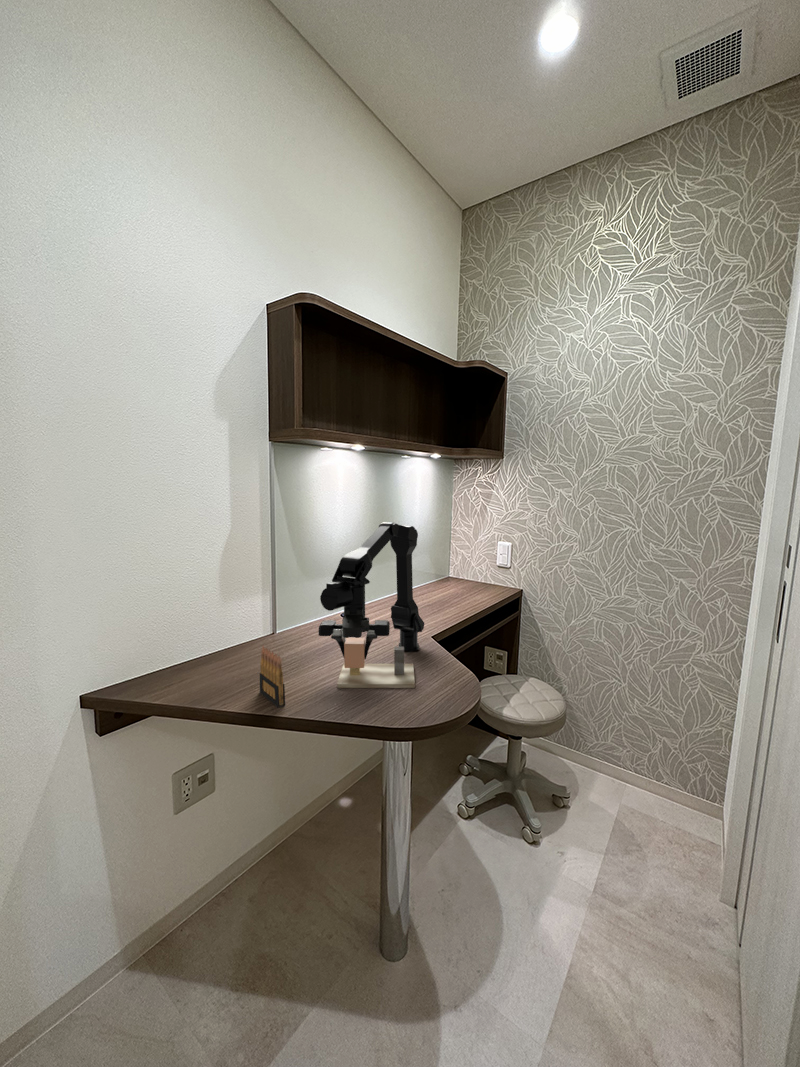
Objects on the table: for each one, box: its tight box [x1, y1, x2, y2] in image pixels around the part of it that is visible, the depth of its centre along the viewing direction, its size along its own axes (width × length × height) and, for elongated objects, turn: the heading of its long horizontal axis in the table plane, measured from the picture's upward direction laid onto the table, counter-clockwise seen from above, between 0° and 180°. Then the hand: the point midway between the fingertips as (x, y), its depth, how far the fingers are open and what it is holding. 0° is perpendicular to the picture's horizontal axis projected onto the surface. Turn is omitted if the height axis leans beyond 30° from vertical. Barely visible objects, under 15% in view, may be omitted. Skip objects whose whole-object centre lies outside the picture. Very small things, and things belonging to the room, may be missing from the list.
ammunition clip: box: [259, 645, 286, 708], centre depth 111 cm, size 11×2×12 cm, turn 40°
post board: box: [336, 646, 416, 689], centre depth 124 cm, size 14×20×8 cm
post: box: [350, 668, 360, 675], centre depth 124 cm, size 3×3×7 cm
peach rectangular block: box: [343, 637, 367, 668], centre depth 124 cm, size 5×5×7 cm
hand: (355, 658), depth 124 cm, fingers closed on peach rectangular block, 5 cm apart
